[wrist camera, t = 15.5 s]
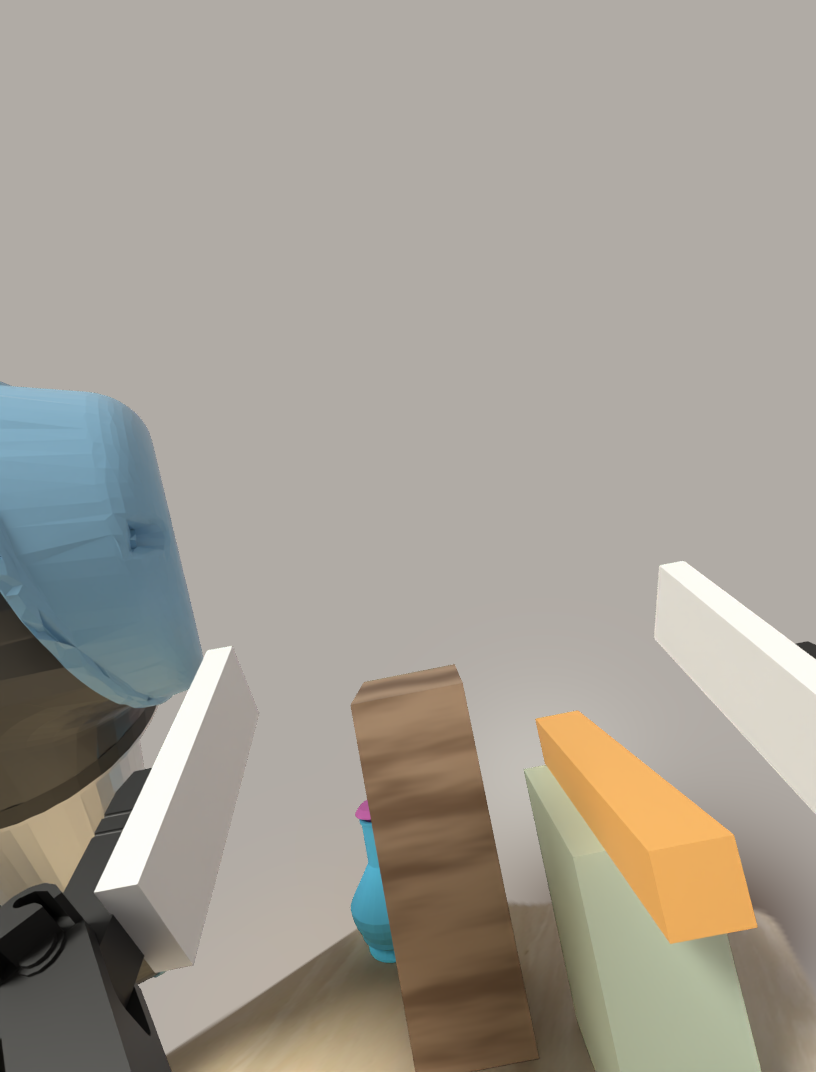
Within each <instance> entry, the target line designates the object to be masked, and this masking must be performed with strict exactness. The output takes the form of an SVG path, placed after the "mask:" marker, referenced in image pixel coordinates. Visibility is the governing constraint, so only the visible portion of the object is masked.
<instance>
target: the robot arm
mask: <svg viewBox="0 0 816 1072" xmlns="http://www.w3.org/2000/svg"><path fill="white" fill-rule="evenodd" d="M654 639H655V640H656V641H657V642H658V643H659V644H660V645H661V646H662V647H663V649H664V650H665V651H666V652H667V653H668V654H669V655H670V656H671V657H672V658H673V659H674V661H675V662H676V663H677V664H678V665H679V666H680V667H681V668H682V669H683V670H684V671H685V672H686V674H687V675H688V676H689V677H690V678H691V679H692V680H693V681H694V682H695V683H696V685H697V686H698V687H699V688H700V689H701V690H702V691H703V692H704V693H705V694H706V695H707V697H708V698H709V699H710V700H711V701H712V702H713V703H714V704H715V705H716V706H717V707H718V708H719V710H720V711H721V712H722V713H723V714H724V715H725V716H726V717H727V718H728V719H729V720H730V722H731V723H732V724H733V725H734V726H735V727H736V728H737V729H738V730H739V731H740V732H741V734H742V735H743V736H744V737H745V738H746V739H747V740H748V741H749V742H750V743H751V744H752V745H753V746H754V748H755V749H756V750H757V751H758V752H759V753H760V754H761V755H762V756H763V757H764V759H765V760H766V761H767V762H768V763H769V764H770V765H771V766H772V767H773V768H774V769H775V771H776V772H777V773H778V774H779V775H780V776H781V777H782V778H783V779H784V780H785V781H786V782H787V784H789V786H790V787H791V788H792V789H793V790H794V791H795V792H796V793H797V794H798V796H799V797H800V798H801V799H802V800H803V801H804V802H805V803H806V804H807V805H808V806H809V807H810V809H811V810H812V811H813V812H814V813H815V814H816V645H815V644H812V643H810V642H803V643H797V644H794V643H793V642H792V641H790V640H789V639H788V638H786V637H785V636H784V635H782V634H781V633H779V632H778V631H777V630H776V629H774V628H773V627H772V626H770V625H769V624H768V623H766V622H765V621H764V620H762V619H761V618H760V617H758V616H757V615H756V614H754V613H753V612H752V611H750V610H749V609H748V608H746V607H745V606H744V605H742V604H741V603H740V602H738V601H737V600H735V599H734V598H733V597H731V596H730V595H729V594H728V593H726V592H725V591H723V590H722V589H721V588H719V587H718V586H717V585H715V584H714V583H713V582H711V581H710V580H709V579H707V578H706V577H705V576H703V575H702V574H701V573H699V572H698V571H697V570H695V569H694V568H693V567H691V566H690V565H689V564H687V563H686V562H685V561H681V562H675V563H671V564H665V565H659V576H658V591H657V604H656V618H655V632H654ZM188 689H189V690H188ZM186 690H188V693H187V695H186V697H185V699H184V701H183V703H182V706H181V708H180V710H179V712H178V714H177V716H176V719H175V720H174V722H173V725H172V727H171V729H170V731H169V733H168V736H167V738H166V740H165V742H164V744H163V746H162V748H161V750H160V752H159V754H158V757H157V759H156V761H155V763H154V765H153V767H152V768H149V769H144V763H143V757H142V751H141V745H140V738H141V737H142V735H143V734H144V732H145V731H146V729H147V727H148V725H149V724H150V723H151V721H152V719H153V716H154V714H155V712H156V710H157V708H158V706H159V704H162V703H164V702H166V701H167V700H168V699H170V698H171V697H172V696H173V695H175V694H177V693H180V692H183V691H186ZM258 716H259V712H258V709H257V706H256V704H255V701H254V699H253V696H252V695H251V691H250V689H249V686H248V684H247V681H246V679H245V676H244V674H243V671H242V669H241V666H240V664H239V661H238V659H237V656H236V654H235V651H234V649H233V646H229V647H224V648H218V649H213V650H208V651H207V652H206V654H205V656H204V658H203V655H202V649H201V645H200V641H199V637H198V632H197V628H196V623H195V619H194V615H193V611H192V607H191V602H190V598H189V594H188V589H187V585H186V581H185V577H184V573H183V569H182V564H181V561H180V556H179V551H178V547H177V543H176V540H175V536H174V531H173V527H172V523H171V518H170V514H169V510H168V506H167V501H166V497H165V493H164V489H163V484H162V481H161V476H160V472H159V468H158V464H157V459H156V455H155V451H154V447H153V443H152V439H151V436H150V433H149V431H148V429H147V427H146V425H145V424H144V423H143V421H142V420H141V419H140V417H139V416H138V415H137V414H136V413H135V412H134V411H132V410H131V409H130V408H129V407H127V406H126V405H124V404H123V403H121V402H120V401H117V400H116V399H113V398H111V397H108V396H105V395H101V394H97V393H91V392H81V391H67V390H54V389H41V388H27V387H14V386H10V385H8V384H5V383H3V382H0V1072H172V1071H171V1069H170V1066H169V1063H168V1061H167V1058H166V1055H165V1053H164V1050H163V1048H162V1045H161V1042H160V1039H159V1037H158V1034H157V1031H156V1029H155V1026H154V1023H153V1020H152V1018H151V1015H150V1013H149V1010H148V1007H147V1004H146V1002H145V999H144V996H143V994H142V991H141V989H140V988H139V986H138V984H140V983H142V982H144V981H146V980H147V979H150V978H152V977H158V976H160V975H162V974H163V973H165V972H166V971H168V970H173V969H177V968H183V967H188V966H193V965H194V961H195V958H196V954H197V949H198V946H199V942H200V938H201V934H202V930H203V927H204V923H205V919H206V915H207V912H208V908H209V904H210V900H211V896H212V892H213V888H214V885H215V881H216V877H217V873H218V869H219V866H220V862H221V858H222V854H223V850H224V846H225V842H226V838H227V835H228V831H229V827H230V824H231V820H232V816H233V812H234V808H235V804H236V800H237V797H238V793H239V789H240V785H241V781H242V778H243V774H244V770H245V766H246V762H247V758H248V755H249V750H250V747H251V743H252V739H253V735H254V732H255V728H256V724H257V720H258Z"/></svg>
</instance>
